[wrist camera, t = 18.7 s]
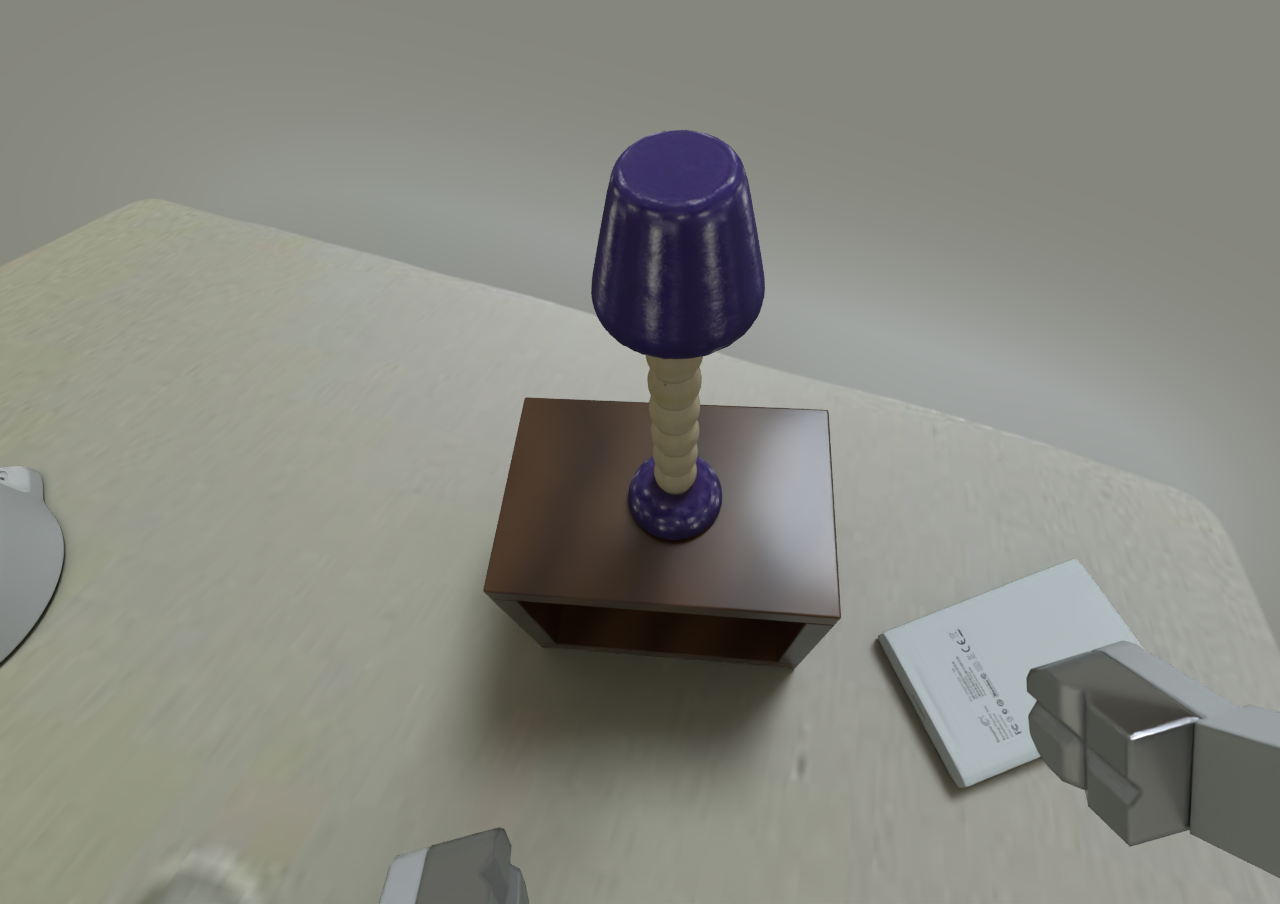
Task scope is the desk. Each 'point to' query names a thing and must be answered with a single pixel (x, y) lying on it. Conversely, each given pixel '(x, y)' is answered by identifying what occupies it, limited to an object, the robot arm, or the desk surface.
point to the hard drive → (997, 663)
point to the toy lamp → (677, 302)
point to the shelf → (669, 569)
